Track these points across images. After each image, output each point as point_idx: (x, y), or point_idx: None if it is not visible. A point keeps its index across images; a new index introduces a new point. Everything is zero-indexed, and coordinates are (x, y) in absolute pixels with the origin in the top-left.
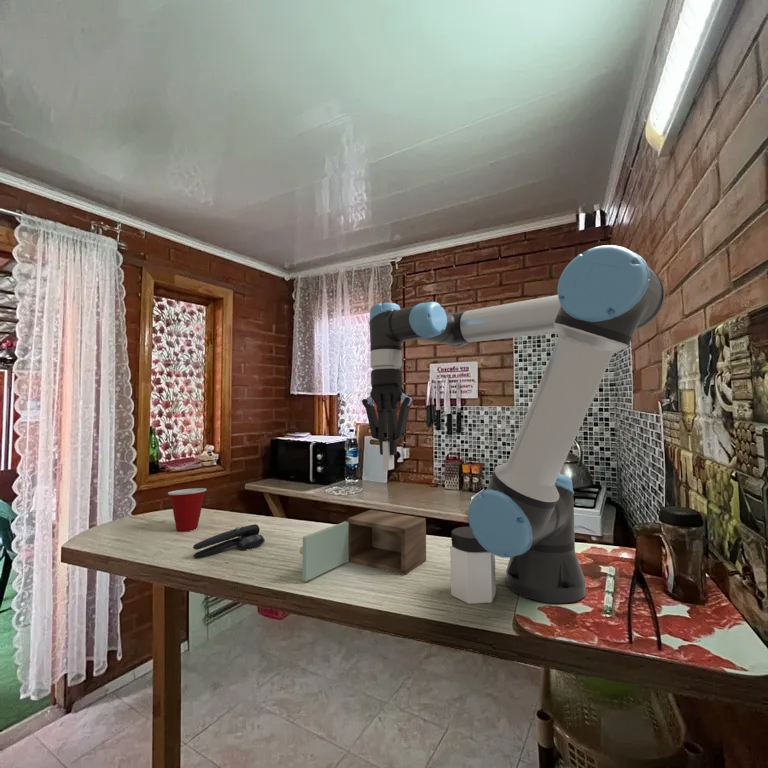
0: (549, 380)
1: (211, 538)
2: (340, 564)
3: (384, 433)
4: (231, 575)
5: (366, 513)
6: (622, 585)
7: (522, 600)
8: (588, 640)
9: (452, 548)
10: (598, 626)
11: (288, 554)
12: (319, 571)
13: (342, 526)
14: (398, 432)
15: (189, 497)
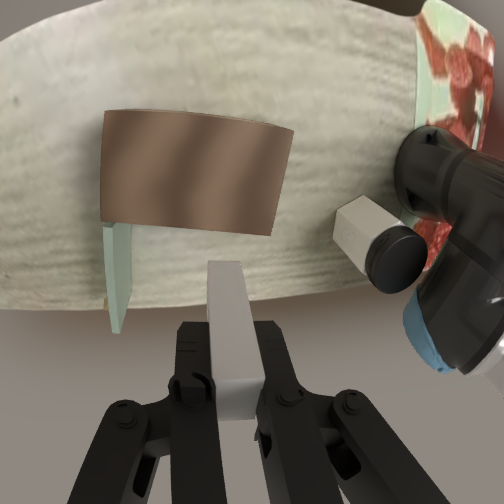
0: None
1: None
2: None
3: (194, 443)
4: (44, 302)
5: (114, 154)
6: (480, 146)
7: (404, 216)
8: (430, 264)
9: (363, 273)
10: (443, 240)
11: (31, 214)
12: (130, 269)
13: (114, 246)
14: (341, 455)
15: None
